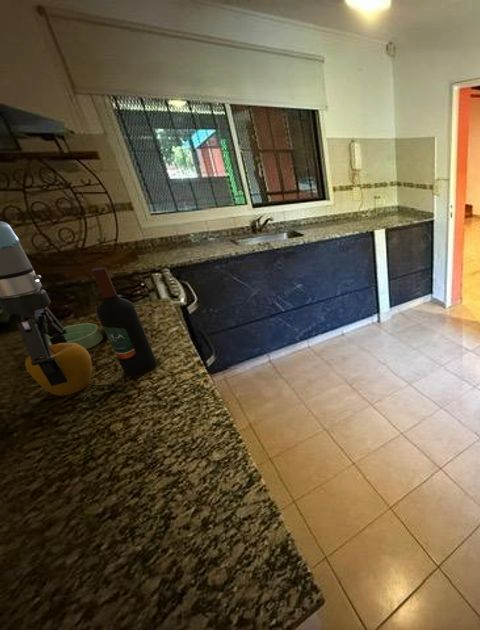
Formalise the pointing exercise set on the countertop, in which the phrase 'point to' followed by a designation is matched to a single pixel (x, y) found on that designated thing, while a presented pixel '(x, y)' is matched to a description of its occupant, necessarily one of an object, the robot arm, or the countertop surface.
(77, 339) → the bowl
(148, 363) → the wine bottle
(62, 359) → the apple
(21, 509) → the countertop surface
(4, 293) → the robot arm
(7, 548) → the countertop surface
